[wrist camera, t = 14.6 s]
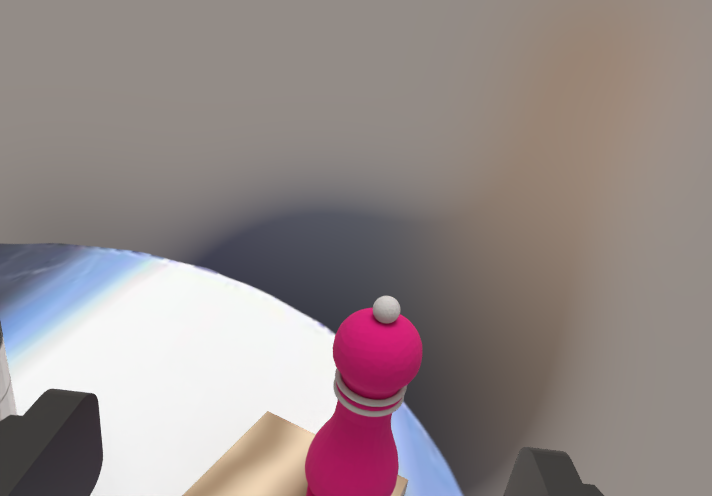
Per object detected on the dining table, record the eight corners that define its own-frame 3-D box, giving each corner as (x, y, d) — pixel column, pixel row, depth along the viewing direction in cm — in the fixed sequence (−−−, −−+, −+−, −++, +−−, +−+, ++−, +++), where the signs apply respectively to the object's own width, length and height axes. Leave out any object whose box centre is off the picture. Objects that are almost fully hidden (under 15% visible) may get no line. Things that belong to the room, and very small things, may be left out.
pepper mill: (327, 452, 45) (363, 258, 36) (400, 491, 42) (458, 294, 33) (281, 515, 39) (311, 302, 30) (363, 565, 36) (422, 349, 27)
